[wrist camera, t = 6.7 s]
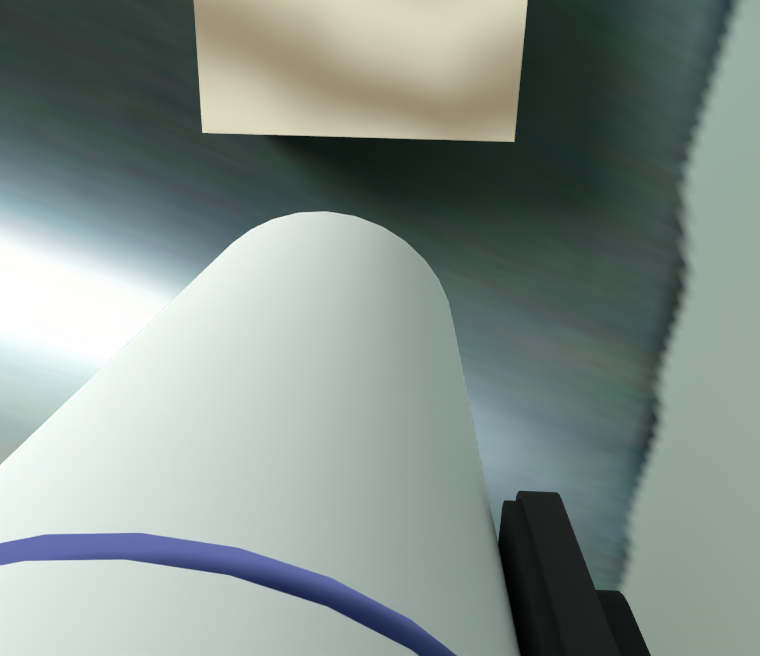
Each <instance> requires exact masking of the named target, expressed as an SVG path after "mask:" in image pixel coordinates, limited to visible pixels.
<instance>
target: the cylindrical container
mask: <svg viewBox="0 0 760 656" xmlns="http://www.w3.org/2000/svg"><path fill="white" fill-rule="evenodd" d="M0 656H521V655H520V650H519V645H518V640H517V635H516V630H515V625H514V621H513V616H512V611H511V606H510V601H509V596H508V591H507V586H506V581H505V576H504V571H503V566H502V561H501V556H500V552H499V547H498V542H497V537H496V532H495V527H494V522H493V517H492V512H491V507H490V502H489V497H488V492H487V487H486V483H485V478H484V473H483V468H482V463H481V458H480V453H479V448H478V443H477V438H476V433H475V428H474V423H473V418H472V414H471V409H470V404H469V399H468V394H467V389H466V384H465V379H464V374H463V369H462V364H461V359H460V354H459V349H458V344H457V340H456V335H455V330H454V325H453V320H452V316H451V311H450V307H449V302H448V299H447V297H446V295H445V293H444V291H443V288H442V286H441V284H440V282H439V279H438V278H437V277H436V275H435V274H434V272H433V271H432V269H431V268H430V267H429V265H428V264H427V262H426V261H425V260H424V259H423V258H422V257H421V256H420V255H419V254H418V253H417V252H416V251H415V250H414V249H413V248H412V247H411V246H410V245H409V244H408V243H407V242H406V241H404V240H403V239H401V238H399V237H398V236H396V235H395V234H393V233H392V232H390V231H389V230H387V229H385V228H384V227H382V226H380V225H377V224H374V223H372V222H369V221H367V220H364V219H361V218H359V217H356V216H351V215H345V214H339V213H333V212H304V213H296V214H292V215H288V216H284V217H280V218H275V219H272V220H270V221H268V222H266V223H264V224H262V225H260V226H257V227H255V228H253V229H251V230H250V231H248V232H247V233H246V234H244V235H243V236H242V237H240V238H239V239H237V240H236V241H235V242H233V243H232V244H231V245H230V246H229V247H228V248H227V249H226V250H225V251H224V252H223V253H222V254H220V255H219V256H218V257H217V258H216V259H215V260H214V261H213V262H212V263H211V264H210V265H209V266H208V267H207V268H206V269H205V270H204V271H203V272H202V273H201V274H200V275H199V276H197V277H196V278H195V279H194V280H193V281H192V282H191V283H190V284H189V285H188V286H187V287H186V288H185V289H184V290H183V291H182V292H181V293H180V294H179V295H178V296H177V297H176V298H174V299H173V300H172V301H171V302H170V303H169V304H168V305H167V306H166V307H165V308H164V309H163V310H162V311H161V312H160V313H159V314H158V315H157V316H156V317H155V318H154V319H153V320H151V321H150V322H149V323H148V324H147V325H146V326H145V327H144V328H143V329H142V330H141V331H140V332H139V333H138V334H137V335H136V336H135V337H134V338H133V339H132V340H131V341H129V342H128V343H127V344H126V345H125V346H124V347H123V348H122V349H121V350H120V351H119V352H118V353H117V354H116V355H115V356H114V357H113V358H112V359H111V360H110V361H109V362H108V363H106V364H105V365H104V366H103V367H102V368H101V369H100V370H99V371H98V372H97V373H96V374H95V375H94V376H93V377H92V378H91V379H90V380H89V381H88V382H87V383H86V384H85V385H83V386H82V387H81V388H80V389H79V390H78V391H77V392H76V393H75V394H74V395H73V396H72V397H71V398H70V399H69V400H68V401H67V402H66V403H65V404H64V405H63V406H62V407H60V408H59V409H58V410H57V411H56V412H55V413H54V414H53V415H52V416H51V417H50V418H49V419H48V420H47V421H46V422H45V423H44V424H43V425H42V426H41V427H40V428H39V429H37V430H36V431H35V432H34V433H33V434H32V435H31V436H30V437H29V438H28V439H27V440H26V441H25V442H24V443H23V444H22V445H21V446H20V447H19V448H18V449H17V450H16V451H14V452H13V453H12V454H11V455H10V456H9V457H8V458H7V459H6V460H5V461H4V462H3V463H2V464H1V465H0Z"/></svg>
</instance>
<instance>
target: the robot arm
mask: <svg viewBox="0 0 760 656" xmlns="http://www.w3.org/2000/svg"><path fill="white" fill-rule="evenodd" d="M498 547H499V552H500V556H501V561H502V566H503V571H504V576H505V581H506V586H507V591H508V596H509V601H510V606H511V611H512V616H513V621H514V625H515V630H516V635H517V640H518V645H519V650H520V655H521V656H651V655H650V653H649V651H648V648H647V646H646V644H645V641H644V639H643V637H642V634H641V632H640V630H639V627H638V625H637V623H636V620H635V618H634V616H633V613H632V611H631V609H630V606H629V604H628V602H627V600H626V599H625V597H624V595H623V594H621V593H620V592H619V591H609V590H595V587H594V585H593V582H592V579H591V577H590V574H589V571H588V569H587V566H586V563H585V561H584V558H583V555H582V553H581V550H580V547H579V545H578V542H577V539H576V537H575V534H574V531H573V529H572V526H571V523H570V521H569V518H568V515H567V513H566V510H565V507H564V505H563V502H562V499H561V497H560V495H559V494H558V493H557V492H535V491H519V492H518V493H517V496H516V501H506V500H505V501H504V503H503V507H502V515H501V523H500V532H499V541H498Z"/></svg>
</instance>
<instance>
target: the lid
mask: <svg viewBox="0 0 760 656" xmlns="http://www.w3.org/2000/svg"><path fill="white" fill-rule="evenodd" d="M527 1H528V0H194V11H195V26H196V41H197V57H198V72H199V87H200V102H201V117H202V132H203V133H230V134H264V135H298V136H332V137H366V138H400V139H434V140H468V141H502V142H514V139H515V128H516V118H517V107H518V96H519V86H520V75H521V65H522V54H523V43H524V33H525V22H526V11H527Z"/></svg>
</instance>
